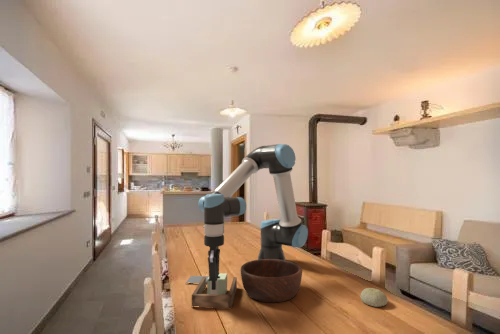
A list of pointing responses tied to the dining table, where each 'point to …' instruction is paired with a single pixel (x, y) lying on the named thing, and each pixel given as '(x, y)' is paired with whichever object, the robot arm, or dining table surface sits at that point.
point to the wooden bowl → (271, 279)
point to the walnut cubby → (213, 296)
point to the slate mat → (196, 279)
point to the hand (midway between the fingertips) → (214, 296)
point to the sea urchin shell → (373, 297)
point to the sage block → (219, 284)
